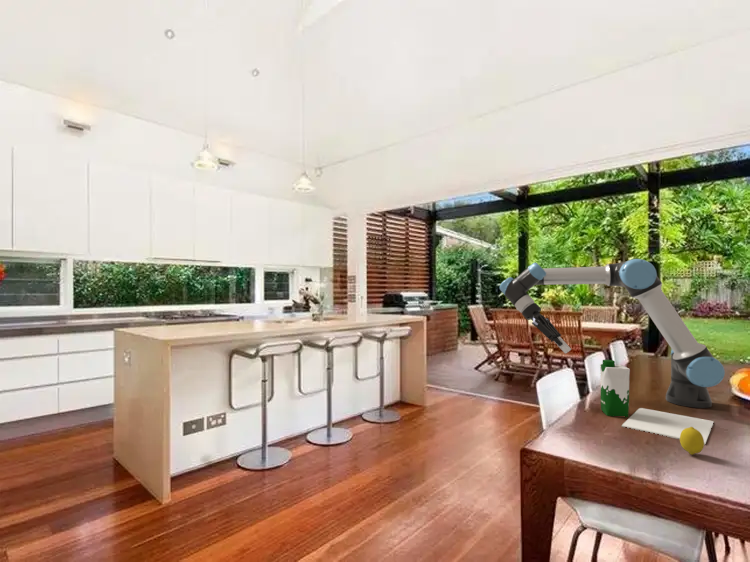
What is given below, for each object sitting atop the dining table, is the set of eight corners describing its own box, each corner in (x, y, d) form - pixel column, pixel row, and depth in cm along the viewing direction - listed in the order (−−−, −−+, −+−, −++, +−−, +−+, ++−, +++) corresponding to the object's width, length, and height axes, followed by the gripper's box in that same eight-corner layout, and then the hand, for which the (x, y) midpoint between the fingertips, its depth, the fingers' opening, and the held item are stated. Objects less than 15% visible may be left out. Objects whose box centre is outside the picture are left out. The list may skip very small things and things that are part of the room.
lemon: (675, 452, 121) (675, 425, 121) (687, 449, 123) (687, 422, 123) (696, 460, 116) (696, 431, 116) (708, 456, 118) (708, 428, 118)
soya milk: (597, 409, 162) (598, 358, 162) (623, 411, 160) (623, 359, 160) (605, 416, 153) (605, 362, 153) (632, 418, 151) (632, 363, 151)
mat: (713, 422, 147) (713, 421, 147) (705, 444, 127) (705, 443, 127) (639, 408, 163) (639, 407, 163) (621, 426, 142) (621, 425, 142)
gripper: (528, 313, 186) (567, 355, 174) (515, 314, 176) (555, 359, 165) (540, 301, 182) (580, 343, 170) (527, 302, 173) (569, 347, 161)
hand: (568, 351), depth 168 cm, fingers closed
